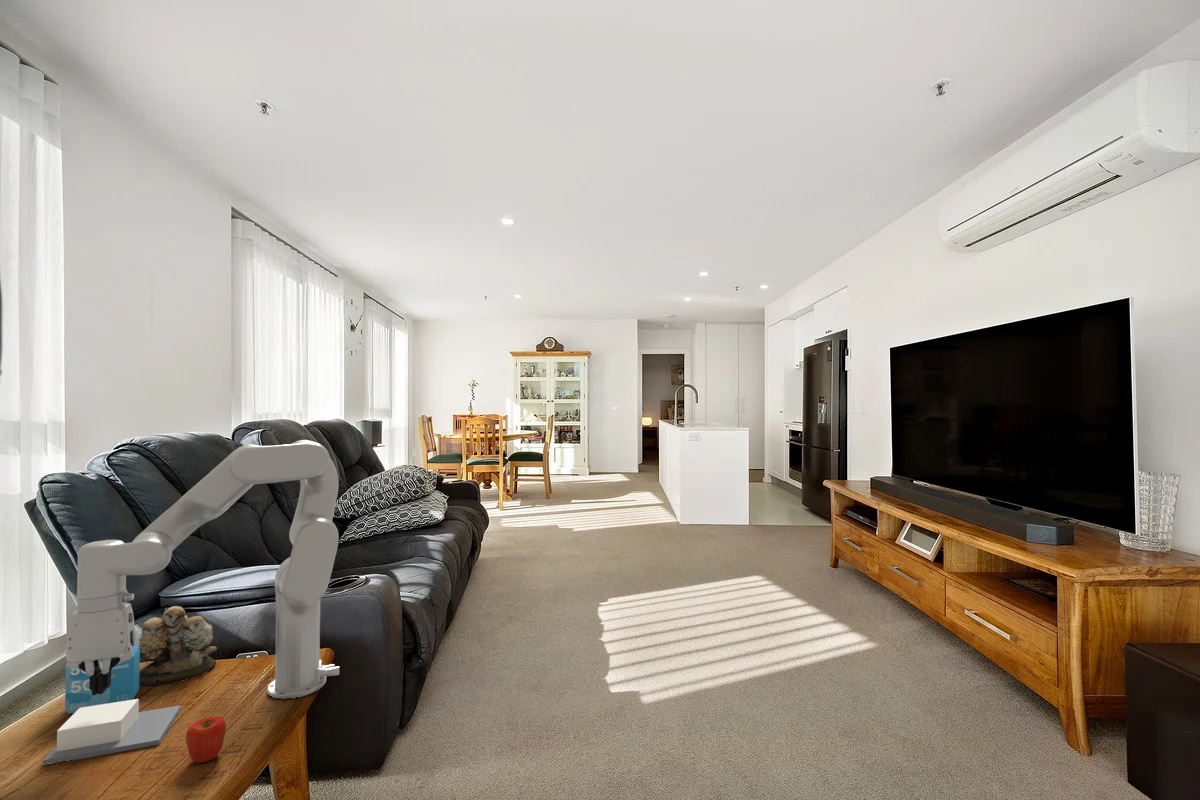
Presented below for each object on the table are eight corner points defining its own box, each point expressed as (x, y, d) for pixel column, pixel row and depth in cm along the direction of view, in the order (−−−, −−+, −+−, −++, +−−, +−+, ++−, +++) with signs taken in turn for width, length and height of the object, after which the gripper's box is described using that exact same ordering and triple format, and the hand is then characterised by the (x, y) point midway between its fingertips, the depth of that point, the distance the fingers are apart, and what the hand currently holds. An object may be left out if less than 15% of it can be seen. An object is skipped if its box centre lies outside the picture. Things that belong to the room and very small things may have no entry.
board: (180, 709, 126) (180, 705, 126) (159, 744, 113) (159, 739, 113) (78, 726, 119) (78, 721, 119) (42, 765, 106) (42, 760, 106)
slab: (138, 698, 121) (79, 707, 117) (121, 720, 112) (57, 730, 109) (138, 717, 121) (79, 726, 117) (120, 740, 112) (56, 751, 109)
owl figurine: (124, 694, 132) (124, 622, 133) (131, 674, 142) (131, 607, 143) (216, 674, 142) (216, 606, 143) (217, 657, 152) (217, 594, 153)
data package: (64, 716, 123) (65, 661, 123) (72, 706, 127) (73, 653, 127) (133, 703, 128) (134, 651, 128) (139, 694, 132) (140, 643, 132)
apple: (189, 774, 104) (190, 733, 104) (182, 759, 108) (183, 720, 108) (229, 758, 108) (229, 719, 108) (220, 745, 113) (221, 708, 113)
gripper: (152, 592, 121) (151, 677, 121) (64, 600, 116) (62, 690, 115) (139, 603, 114) (138, 693, 114) (44, 613, 109) (42, 708, 108)
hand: (100, 691), depth 115 cm, fingers closed
